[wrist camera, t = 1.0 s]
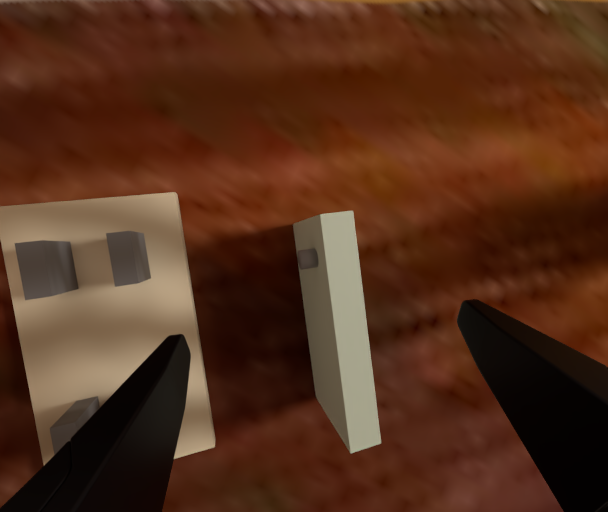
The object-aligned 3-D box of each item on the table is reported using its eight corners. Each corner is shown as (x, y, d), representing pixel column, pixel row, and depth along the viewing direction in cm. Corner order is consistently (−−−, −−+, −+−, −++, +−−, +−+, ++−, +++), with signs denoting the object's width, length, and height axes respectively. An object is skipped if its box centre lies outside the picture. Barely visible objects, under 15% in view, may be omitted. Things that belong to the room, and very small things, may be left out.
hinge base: (215, 438, 22) (213, 478, 18) (58, 483, 20) (17, 540, 16) (177, 194, 21) (166, 182, 17) (6, 209, 19) (-52, 198, 15)
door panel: (338, 390, 25) (381, 443, 18) (303, 399, 24) (334, 458, 17) (316, 221, 24) (353, 210, 17) (279, 225, 23) (302, 216, 16)
